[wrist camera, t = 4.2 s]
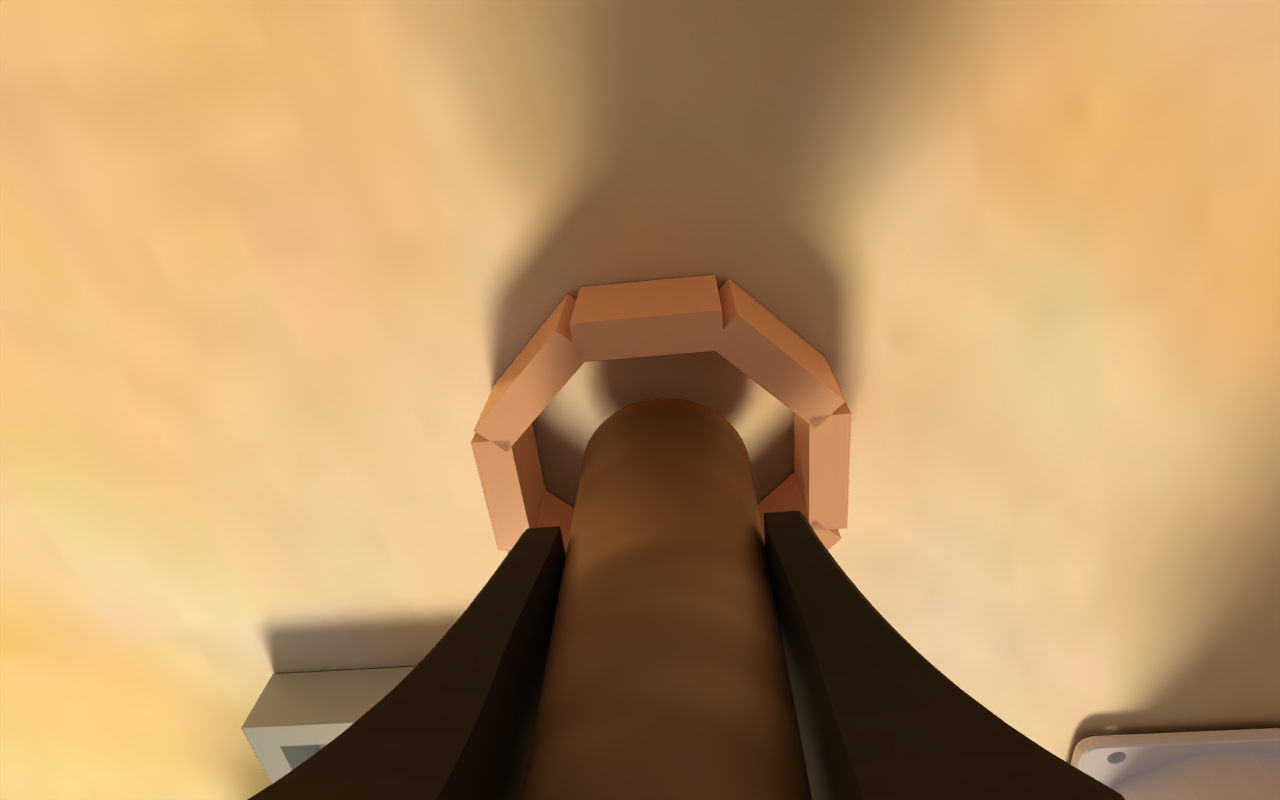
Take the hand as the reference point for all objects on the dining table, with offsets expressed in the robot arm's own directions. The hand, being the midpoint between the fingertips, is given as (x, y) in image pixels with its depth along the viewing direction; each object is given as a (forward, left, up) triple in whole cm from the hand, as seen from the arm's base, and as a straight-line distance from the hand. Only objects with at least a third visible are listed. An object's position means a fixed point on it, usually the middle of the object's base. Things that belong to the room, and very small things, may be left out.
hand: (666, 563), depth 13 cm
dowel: (0, 0, -3) cm, 3 cm away
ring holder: (0, 0, -4) cm, 4 cm away
